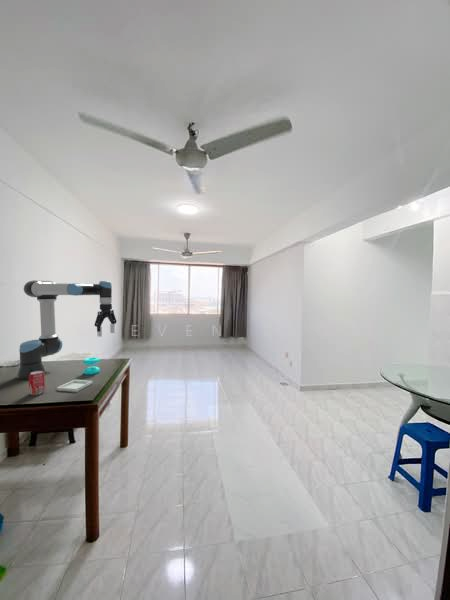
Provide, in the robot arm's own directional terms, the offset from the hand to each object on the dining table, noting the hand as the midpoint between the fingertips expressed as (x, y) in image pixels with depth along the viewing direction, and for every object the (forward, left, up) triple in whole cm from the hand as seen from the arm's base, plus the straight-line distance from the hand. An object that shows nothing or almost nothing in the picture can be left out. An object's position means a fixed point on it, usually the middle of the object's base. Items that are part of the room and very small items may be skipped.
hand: (106, 334), depth 172 cm
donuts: (-13, +1, -28) cm, 30 cm away
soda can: (-18, -36, -28) cm, 49 cm away
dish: (-4, -24, -28) cm, 37 cm away
